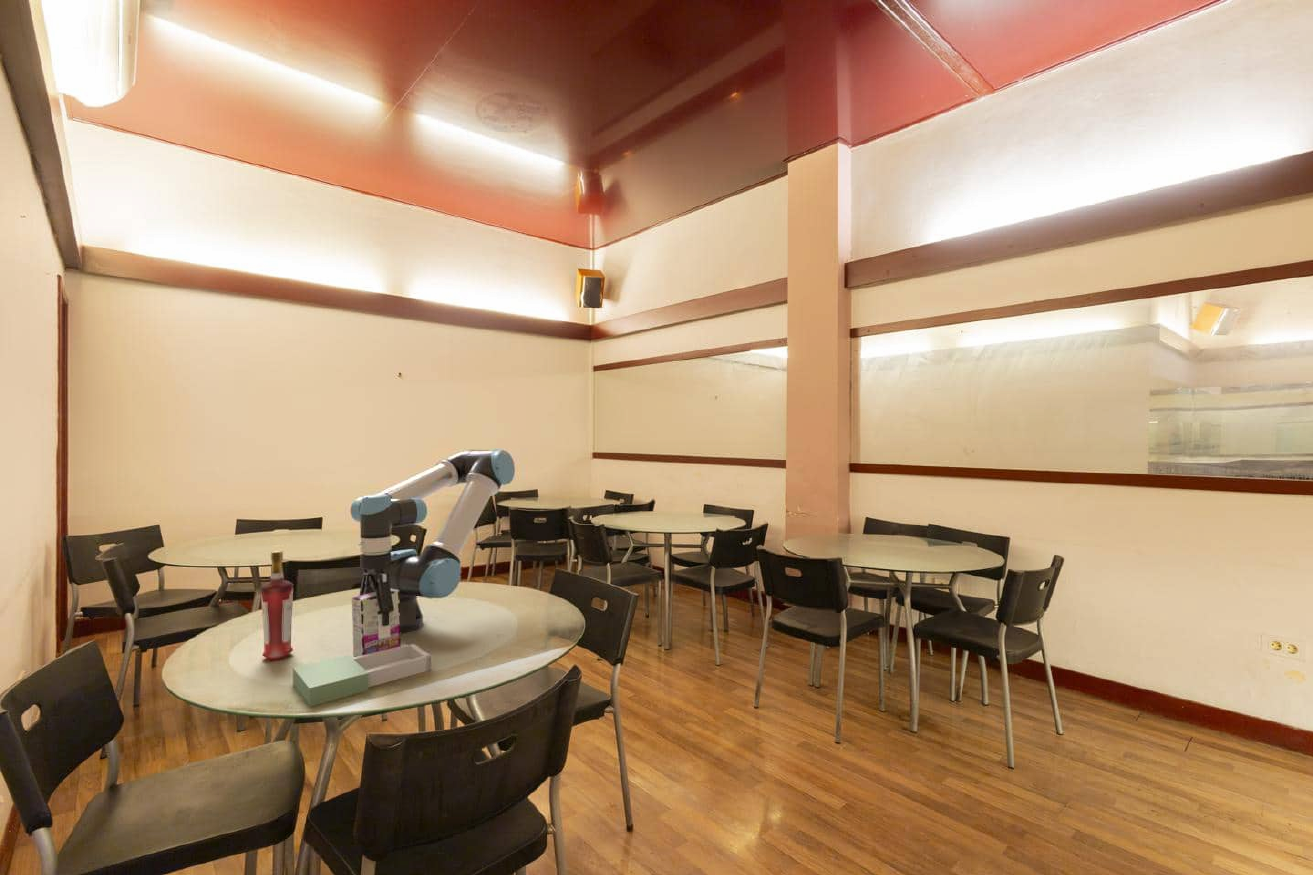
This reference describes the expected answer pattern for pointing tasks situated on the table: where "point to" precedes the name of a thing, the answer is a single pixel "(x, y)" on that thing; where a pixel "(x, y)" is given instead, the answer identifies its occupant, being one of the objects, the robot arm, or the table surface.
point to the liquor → (277, 611)
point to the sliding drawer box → (357, 673)
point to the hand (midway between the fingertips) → (375, 631)
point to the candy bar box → (373, 624)
